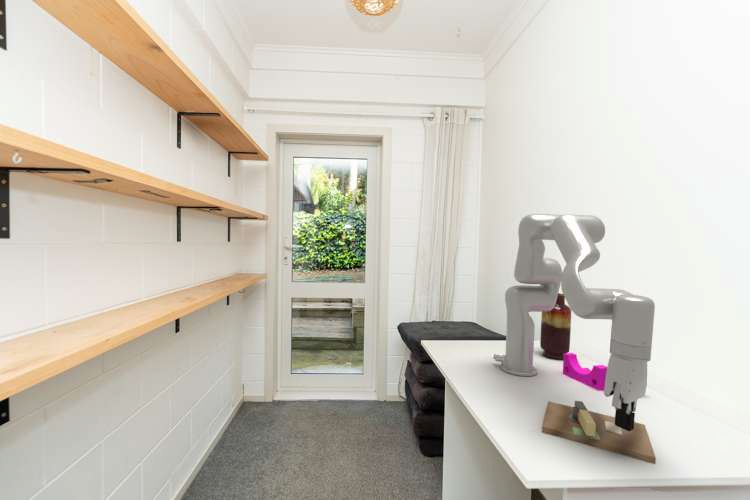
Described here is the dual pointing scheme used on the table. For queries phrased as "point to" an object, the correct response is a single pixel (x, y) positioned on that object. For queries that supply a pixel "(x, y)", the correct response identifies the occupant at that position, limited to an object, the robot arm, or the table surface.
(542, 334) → the vase
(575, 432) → the wooden lever switch board
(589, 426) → the lever handle
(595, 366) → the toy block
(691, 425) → the table surface
